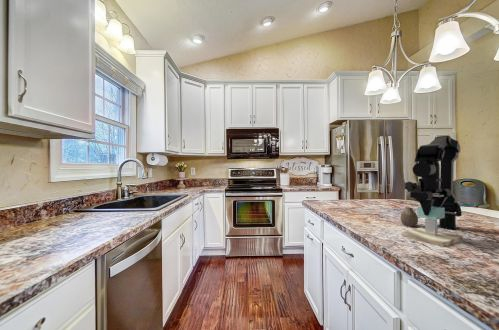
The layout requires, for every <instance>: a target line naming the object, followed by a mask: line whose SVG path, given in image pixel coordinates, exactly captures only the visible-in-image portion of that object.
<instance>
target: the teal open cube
mask: <svg viewBox="0 0 499 330" xmlns="http://www.w3.org/2000/svg"><path fill="white" fill-rule="evenodd" d="M416 208H417V209H416V210H417V213H416V214H417V216H418V218H424V219H426V218H429V219H434V220H437V221H438V220H439V219H442V218H445V208H443V207H436V206H432V207H431V210H430V213H429V215H428V216H426V215H424V212H423V210H422V207H421V205H419V206H417V207H416Z"/></svg>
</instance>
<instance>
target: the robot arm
mask: <svg viewBox="0 0 499 330" xmlns="http://www.w3.org/2000/svg"><path fill="white" fill-rule="evenodd" d="M459 153H461V145H460V143H459V141H458V140H456V139H453V138H452V136H450V135H440V136H435V137H434V139H433V140H432V141H431V142H430V143H429V144H428V143H427V144H422V145H419V148H417V151H416V155H415V159H414V163H415V162H416V163H415V164H414V165H413V167H412V172H413V174H414V175H415V176H416V177H418V181H417V182H412V181H406V182H405V183H404V190H407V193H409V198H413V199H414V200H416V201H417V202H419V204H420V205H419V206H421V207H422V210H423V212H424V215H426V216H428V215H429V213H430V210H431V207H432V206H436V207H443V208H445V218H442V219H438V224H437V228H441V229H442V228H443V229H446V230H451V231H453V230H457V229H460V226H457V217H462V216H463V214H462V208H461V205H460V203H459V202H458V198H457V197H456V196H455V194H454V190H453V189H454V163H455V161H456V160H457V159H458V158H459Z"/></svg>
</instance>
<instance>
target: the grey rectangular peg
mask: <svg viewBox="0 0 499 330" xmlns="http://www.w3.org/2000/svg"><path fill="white" fill-rule="evenodd" d="M424 224H425V225H424V228H425V233H426V234H430V235H435V236H436V235H437V231H438V227H437V225H438V219H437V220H435V219H429V218H424Z"/></svg>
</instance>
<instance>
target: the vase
mask: <svg viewBox="0 0 499 330" xmlns="http://www.w3.org/2000/svg"><path fill="white" fill-rule="evenodd" d="M400 221H401V223H402V225H403V226H405V227H408V226H409V228H414V227H415V226H417V225H418V223H419V216H418V214H417V213H416V212H415V211H414V209H413V208H412V207H409V206H408V207H407V206H406V207H405V209H404V210H403V211H402V212H401V214H400Z"/></svg>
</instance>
